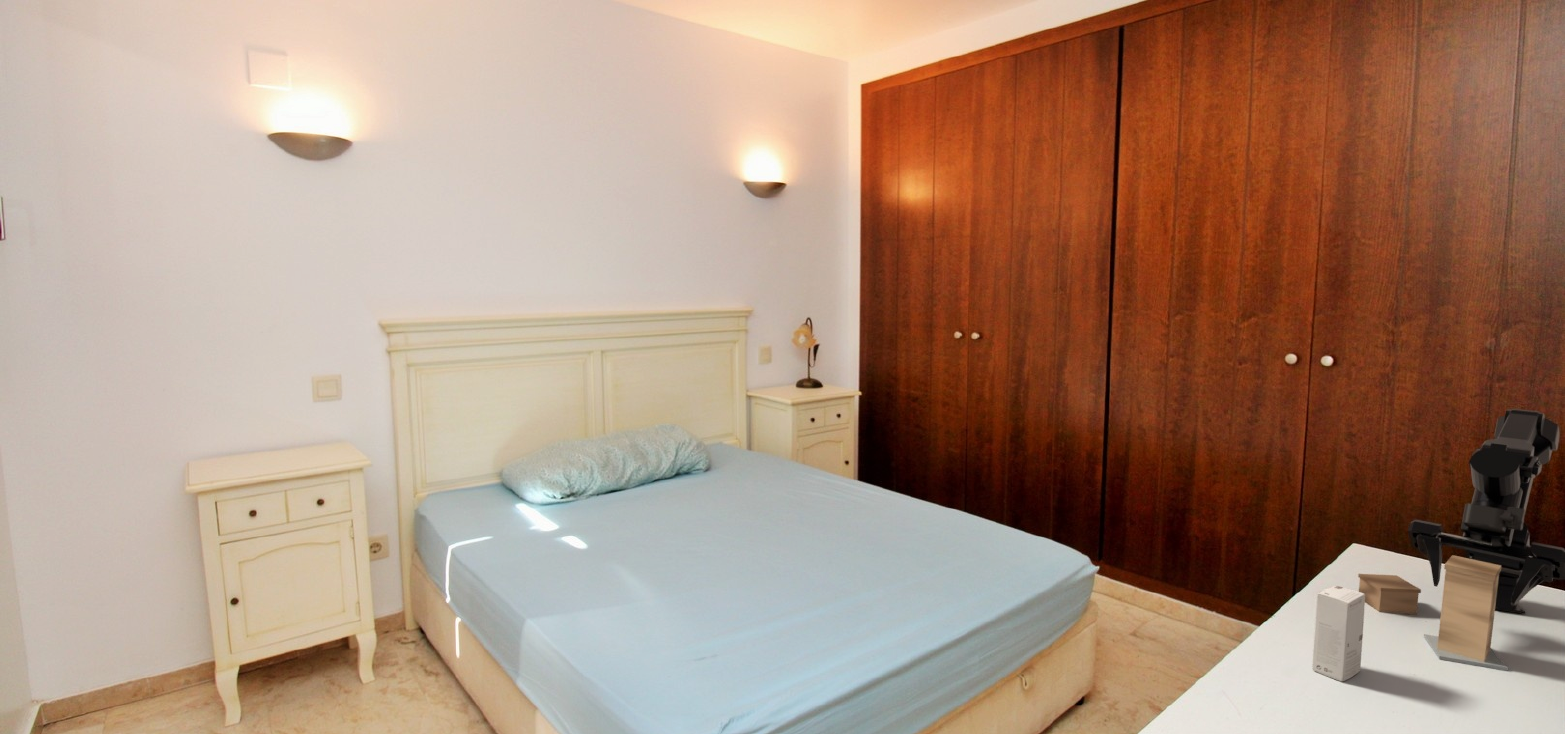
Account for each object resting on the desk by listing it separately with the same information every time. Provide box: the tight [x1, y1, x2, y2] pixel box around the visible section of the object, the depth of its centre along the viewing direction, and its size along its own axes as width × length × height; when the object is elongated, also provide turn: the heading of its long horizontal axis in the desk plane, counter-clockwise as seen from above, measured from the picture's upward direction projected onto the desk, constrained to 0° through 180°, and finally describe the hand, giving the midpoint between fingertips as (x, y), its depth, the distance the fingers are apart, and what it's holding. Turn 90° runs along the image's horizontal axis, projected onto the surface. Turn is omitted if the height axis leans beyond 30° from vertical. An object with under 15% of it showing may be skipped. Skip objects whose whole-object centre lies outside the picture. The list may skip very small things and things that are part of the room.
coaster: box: [1423, 633, 1508, 672], centre depth 120 cm, size 8×8×1 cm
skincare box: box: [1311, 585, 1366, 682], centre depth 114 cm, size 6×4×12 cm
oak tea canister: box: [1437, 554, 1501, 662], centre depth 119 cm, size 6×6×14 cm
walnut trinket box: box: [1357, 573, 1422, 615], centre depth 137 cm, size 6×6×5 cm
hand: (1473, 594), depth 121 cm, fingers open, 9 cm apart
